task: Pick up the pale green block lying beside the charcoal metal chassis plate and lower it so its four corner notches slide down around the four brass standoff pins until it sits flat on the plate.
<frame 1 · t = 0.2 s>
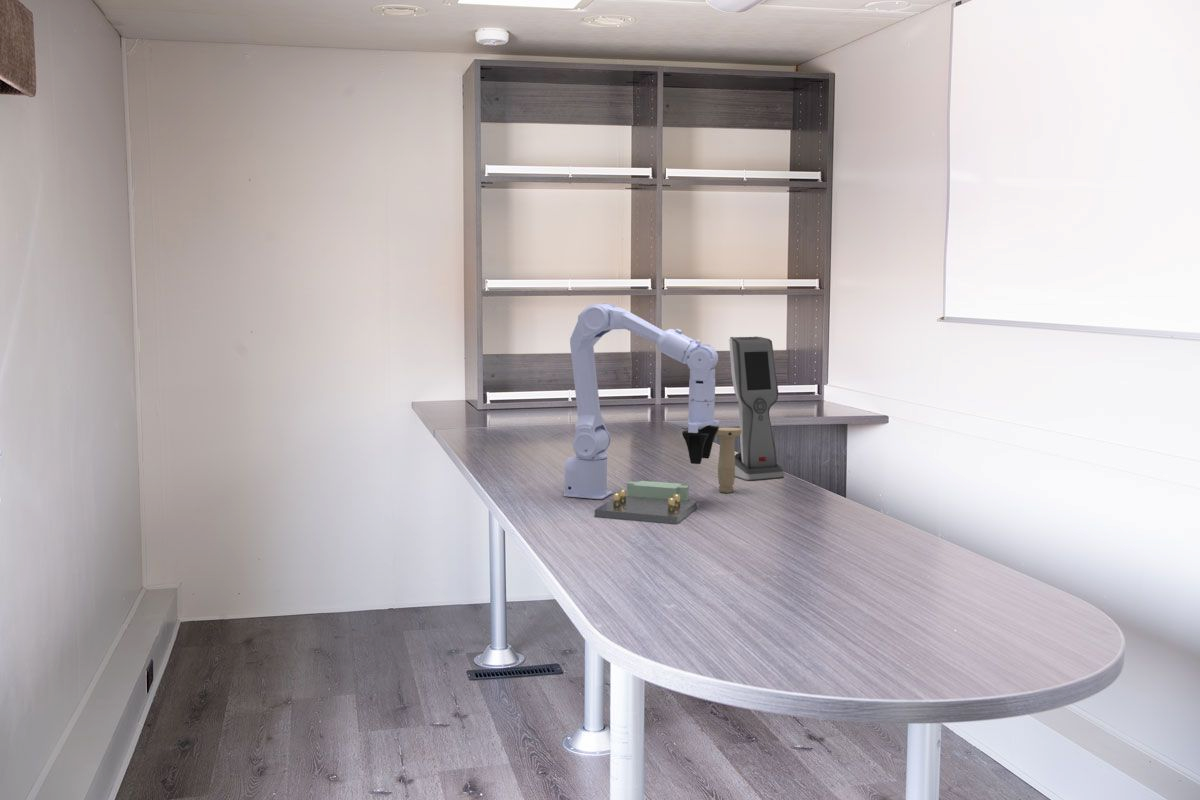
hand: (700, 460, 244), 10 cm above the table, tool pointing down, fingers open, 7 cm apart
pale green block: (657, 498, 251), on the table
thermal camera: (754, 476, 279), on the table
handle: (726, 492, 258), on the table
chassis: (646, 512, 236), on the table
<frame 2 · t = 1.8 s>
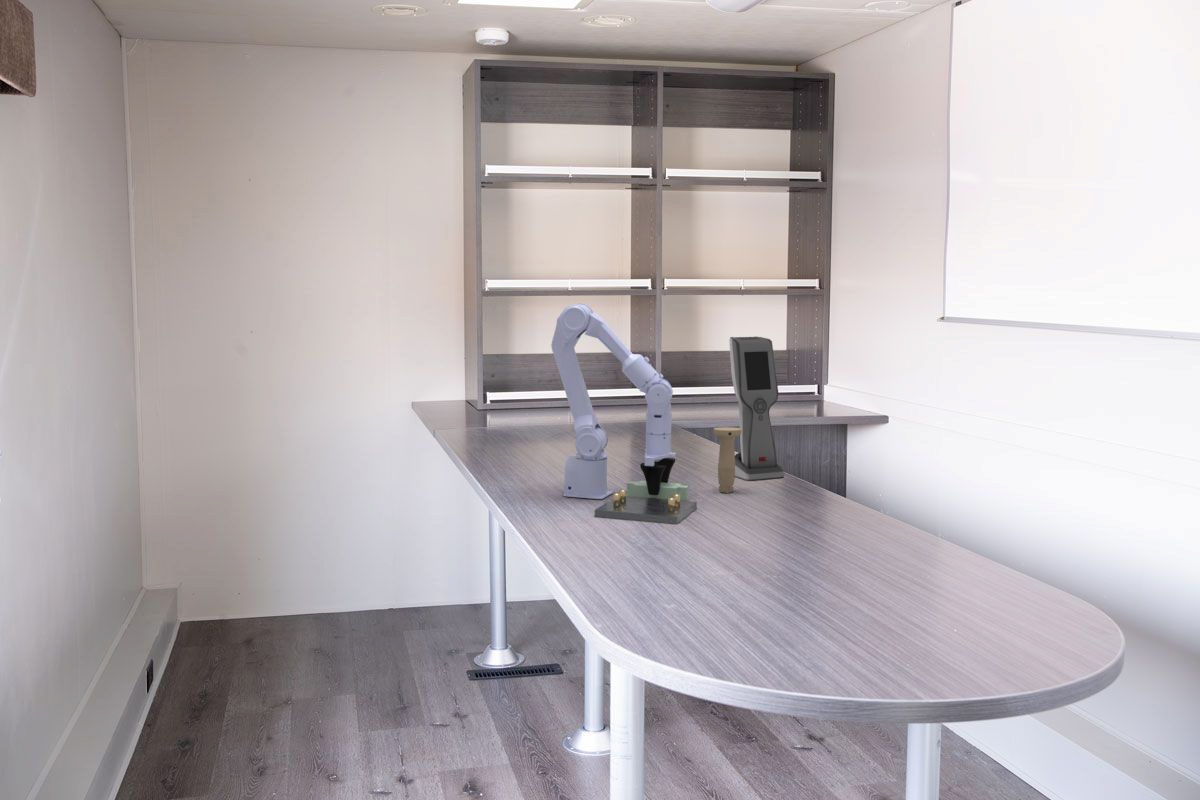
hand: (657, 492, 250), 1 cm above the table, tool pointing down, fingers closed on pale green block, 6 cm apart
pale green block: (657, 498, 251), on the table, touching gripper
everything else where it was.
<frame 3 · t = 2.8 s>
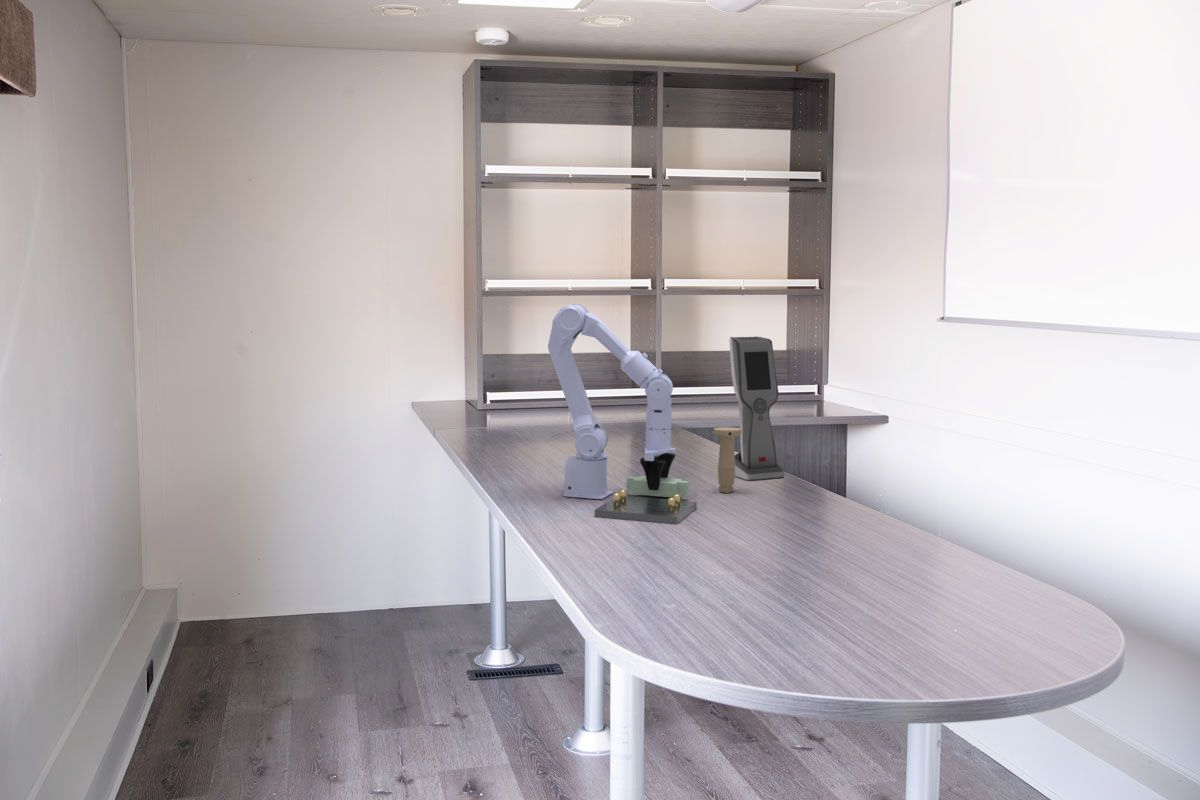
hand: (657, 487, 250), 3 cm above the table, tool pointing down, fingers closed on pale green block, 6 cm apart
pale green block: (657, 493, 250), point 1 cm above the table, touching gripper
everything else where it was.
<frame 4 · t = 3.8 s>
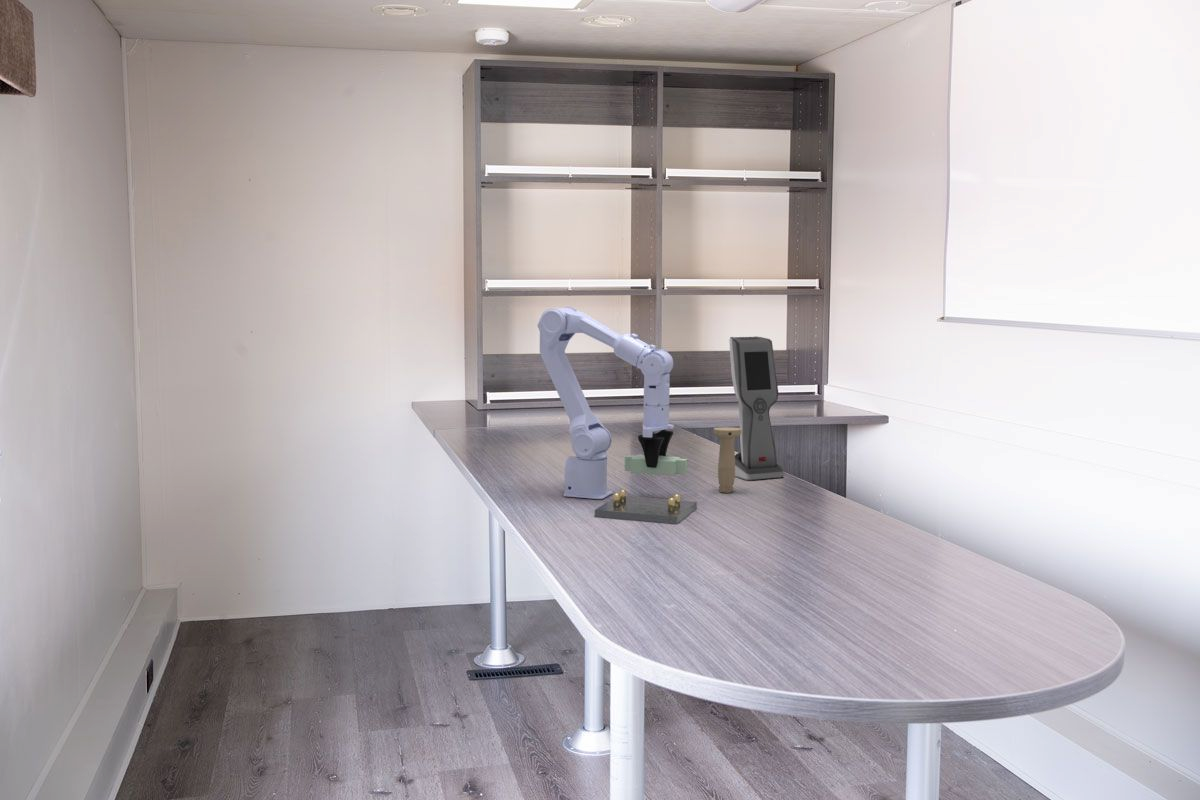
hand: (655, 464, 246), 8 cm above the table, tool pointing down, fingers closed on pale green block, 6 cm apart
pale green block: (655, 471, 246), point 7 cm above the table, touching gripper
everything else where it was.
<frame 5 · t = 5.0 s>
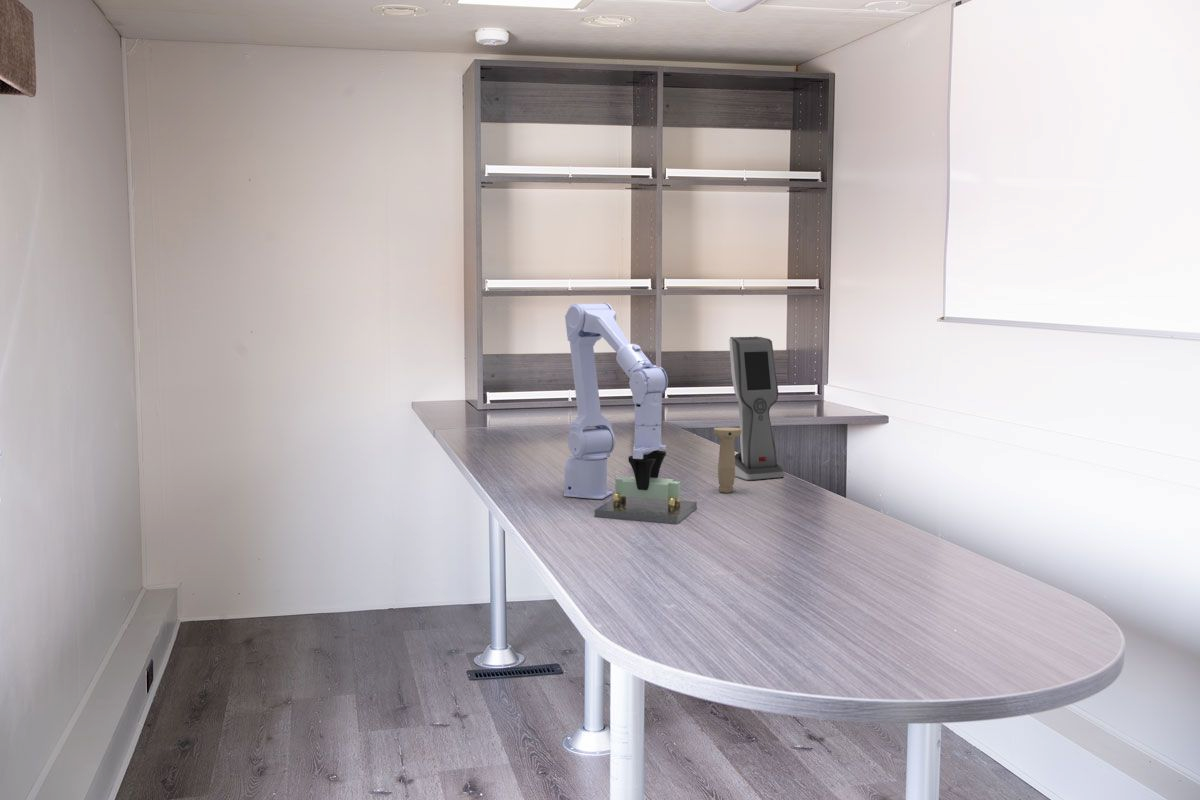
hand: (647, 487, 235), 6 cm above the table, tool pointing down, fingers closed on pale green block, 6 cm apart
pale green block: (647, 494, 235), point 4 cm above the table, touching gripper
everything else where it was.
when the fingers open (3 cm above the table, at t = 6.0 s): pale green block stays where it is, resting on chassis.
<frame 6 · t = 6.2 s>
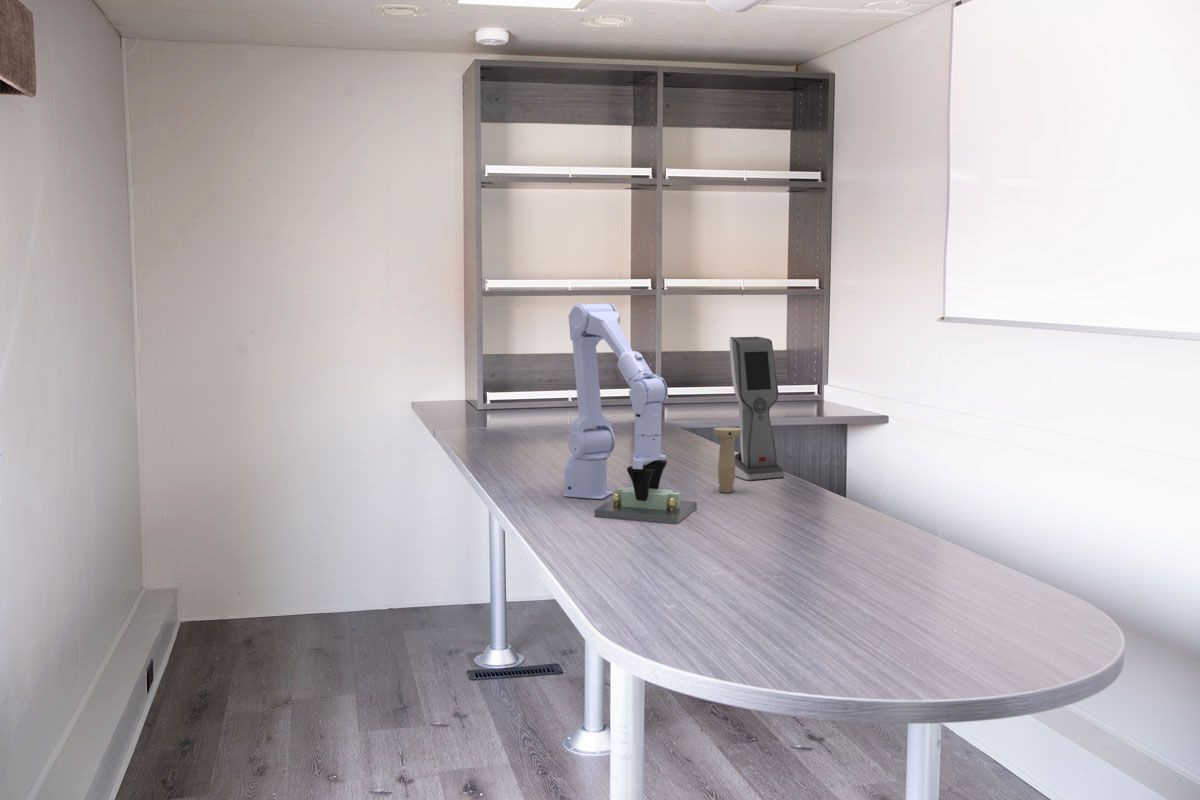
hand: (646, 496, 235), 3 cm above the table, tool pointing down, fingers open, 7 cm apart
pale green block: (647, 505, 236), point 1 cm above the table, touching chassis
everything else where it was.
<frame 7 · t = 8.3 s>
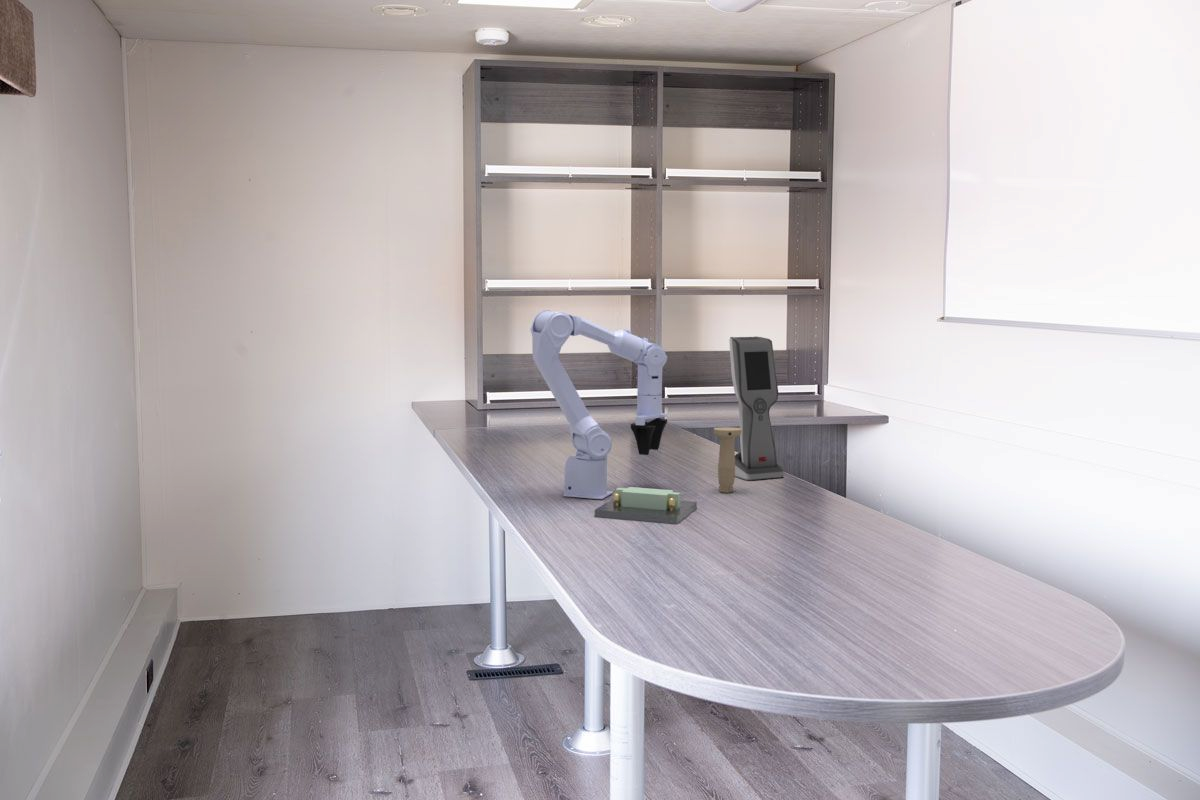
hand: (648, 451, 257), 9 cm above the table, tool pointing down, fingers open, 7 cm apart
nothing on the table moved.
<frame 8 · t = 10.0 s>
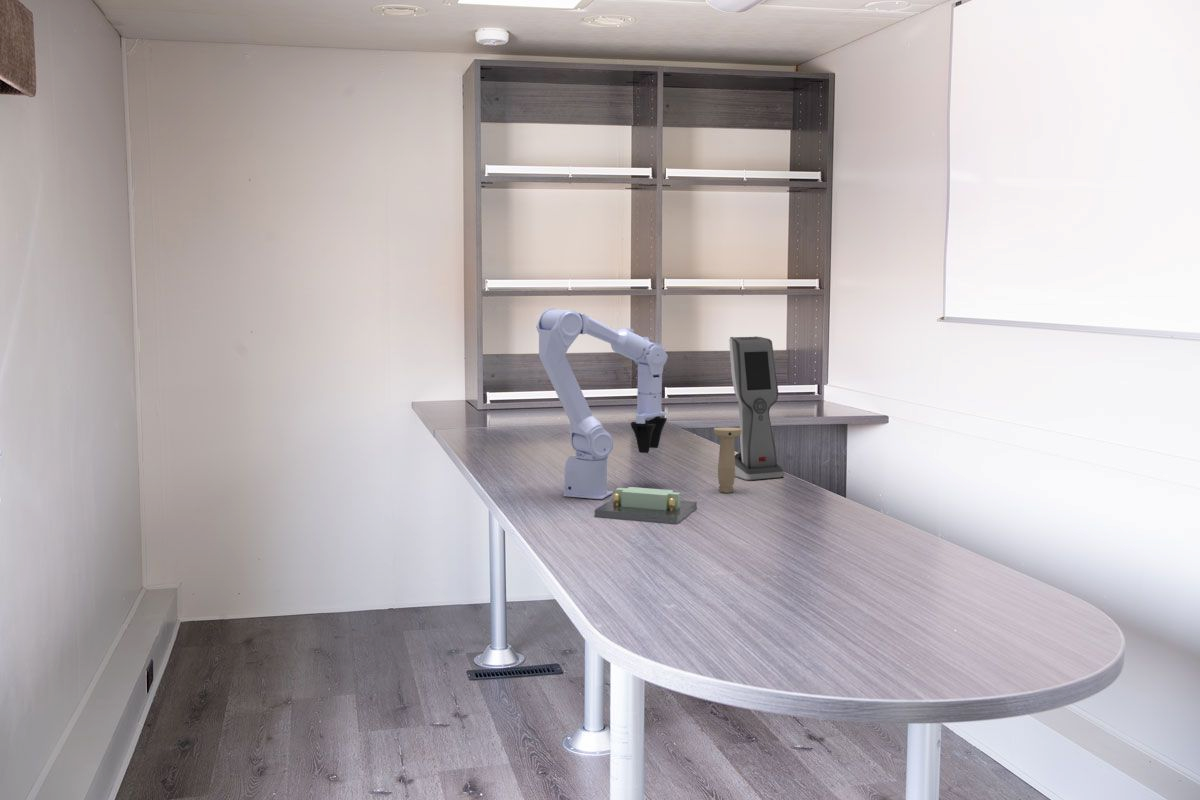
hand: (648, 450, 260), 9 cm above the table, tool pointing down, fingers open, 7 cm apart
nothing on the table moved.
at the end: pale green block 0.2 cm off-centre on the chassis, point 1.5 cm above the chassis's base; pale green block tilted 0°; the gripper is holding nothing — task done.
